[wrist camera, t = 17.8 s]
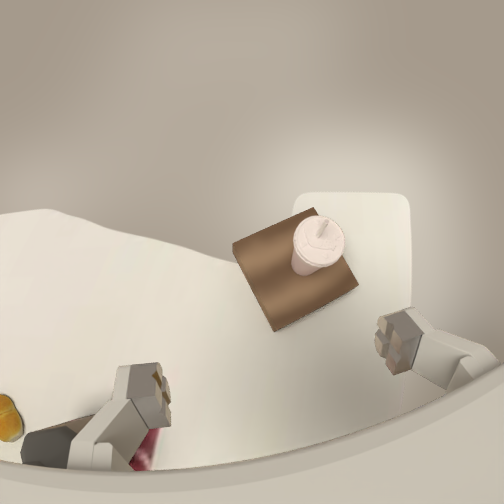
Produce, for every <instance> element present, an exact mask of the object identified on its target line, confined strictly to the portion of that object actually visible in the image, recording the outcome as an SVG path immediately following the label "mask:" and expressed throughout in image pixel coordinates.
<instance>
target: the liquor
mask: <svg viewBox="0 0 504 504" xmlns="http://www.w3.org/2000/svg"><path fill="white" fill-rule="evenodd" d="M95 415H96V414H94V415H90V416H86V417H82V418H78V419H74V420H71V421H68V422H65V423H62V424H58V425H55V426H52V427H48V428H45V429H41V430H38V431H34V432H31V433H28V434H27V435H26V436H25V438H24V442H23V445H22V449H21V452H20V453H21V458H22V462H23V463H22V464H26V465H33V466H40V467H49V468H58V469H67V464H68V458H69V452H70V446H71V441H72V440H73V439H74V438H75V437H76V436H77V435H78V433H79V432H80V431H81V430H82V429H83V428H84V427H85V426H86V425H87V423H88V422H89V421H90V420H91V419H92V418H93V417H94V416H95ZM128 464H129V463H128Z"/></svg>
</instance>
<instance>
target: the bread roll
mask: <svg viewBox="0 0 504 504" xmlns="http://www.w3.org/2000/svg"><path fill="white" fill-rule="evenodd" d="M22 434H23V427H22V420H21V418H20V416H19V414H18V412H17V410H16V409H15V406H14V404H13V403H12V401H11V400H10V398H8V397H7V396H4V395H1V394H0V440H2V441H3V442H14V441H15V440H17V439H18V438H20V436H22Z"/></svg>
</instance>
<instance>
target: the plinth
mask: <svg viewBox="0 0 504 504" xmlns="http://www.w3.org/2000/svg"><path fill="white" fill-rule="evenodd" d="M311 216H319V215H318V214H317V212H316V210H315V209H314V207H313V208H310V209H308V210H306V211H304V212H301V213H299V214H297V215H295V216H292V217H290V218H288V219H286V220H283V221H281V222H279V223H277V224H274V225H272V226H270V227H268V228H265V229H263V230H261V231H259V232H257V233H254V234H252V235H250V236H248V237H246V238H243V239H241V240H239V241H237V242H234V243H233V254H234V256H235V258H236V260H237V262H238V264H239V266H240V268H241V270H242V272H243V274H244V275H245V277H246V279H247V281H248V283H249V285H250V287H251V289H252V291H253V293H254V295H255V297H256V299H257V301H258V303H259V305H260V306H261V308H262V310H263V312H264V314H265V316H266V318H267V320H268V322H269V324H270V326H271V328H272V330H273V331H274V332H275V331H277V330H279V329H281V328H283V327H285V326H286V325H288V324H290V323H292V322H294V321H296V320H298V319H300V318H302V317H303V316H305V315H307V314H309V313H311V312H313V311H315V310H316V309H318V308H320V307H322V306H324V305H325V304H327V303H329V302H331V301H333V300H334V299H336V298H338V297H340V296H342V295H343V294H345V293H347V292H349V291H350V290H352V289H353V288H355V287H357V286H358V285H359V284H358V282H357V280H356V279H355V277H354V275H353V273H352V272H351V270H350V268H349V266H348V264H347V263H346V261H345V259H344V257H343V256H342V255H341V257H340V258H339V259H338V261H336V262H335V263H334V264H332V265H330V266H327V267H322V268H320V269H319V270H317V271H315V272H313V273H312V274H310V275H307V276H301V275H299V274H297V273H296V272H295V271H294V270H293V268H292V265H291V261H292V255H293V250H294V242H293V238H294V233H295V231H296V228H297V227H298V225H299V224H300V223H301V222H302V221H303V220H304V219H306V218H308V217H311Z"/></svg>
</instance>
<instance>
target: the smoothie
mask: <svg viewBox="0 0 504 504" xmlns="http://www.w3.org/2000/svg"><path fill="white" fill-rule="evenodd" d="M293 242H294V250H293V255H292V261H291V265H292V268H293V270H294V271H295V272H296V273H297V274H299V275H301V276H307V275H310V274H312V273H313V272H315V271H317V270H319V269H320V268H322V267H327V266H330V265H332V264H334V263H335V262H336V261H338V259H339V258H340V257H341V255H342V254H343V252H344V249H345V237H344V234H343V231H342V230H341V228H340V227H339V225H338V224H337V223H336V222H334V221H333V220H331V219H329V218H327V217H324V216H311V217H308V218H306V219H304V220H303V221H302V222H301V223H300V224H299V225H298V227H297V228H296V231H295V233H294V238H293Z"/></svg>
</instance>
